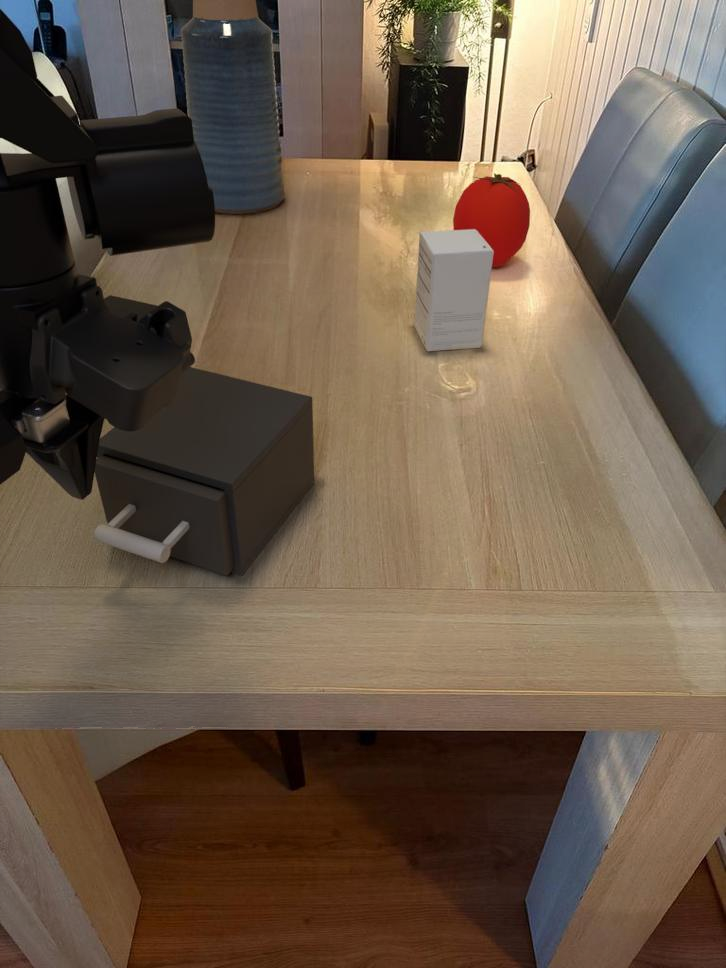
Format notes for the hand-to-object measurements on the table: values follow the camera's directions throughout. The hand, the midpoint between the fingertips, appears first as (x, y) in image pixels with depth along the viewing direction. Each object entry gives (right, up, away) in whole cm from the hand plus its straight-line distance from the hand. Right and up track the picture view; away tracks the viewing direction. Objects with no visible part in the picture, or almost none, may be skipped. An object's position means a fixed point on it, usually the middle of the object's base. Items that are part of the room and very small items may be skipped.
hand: (81, 495), depth 49 cm
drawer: (+4, -3, +15) cm, 16 cm away
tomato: (+37, +35, +66) cm, 83 cm away
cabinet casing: (+6, -1, +19) cm, 20 cm away
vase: (-4, +52, +87) cm, 101 cm away
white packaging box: (+29, +19, +46) cm, 58 cm away
